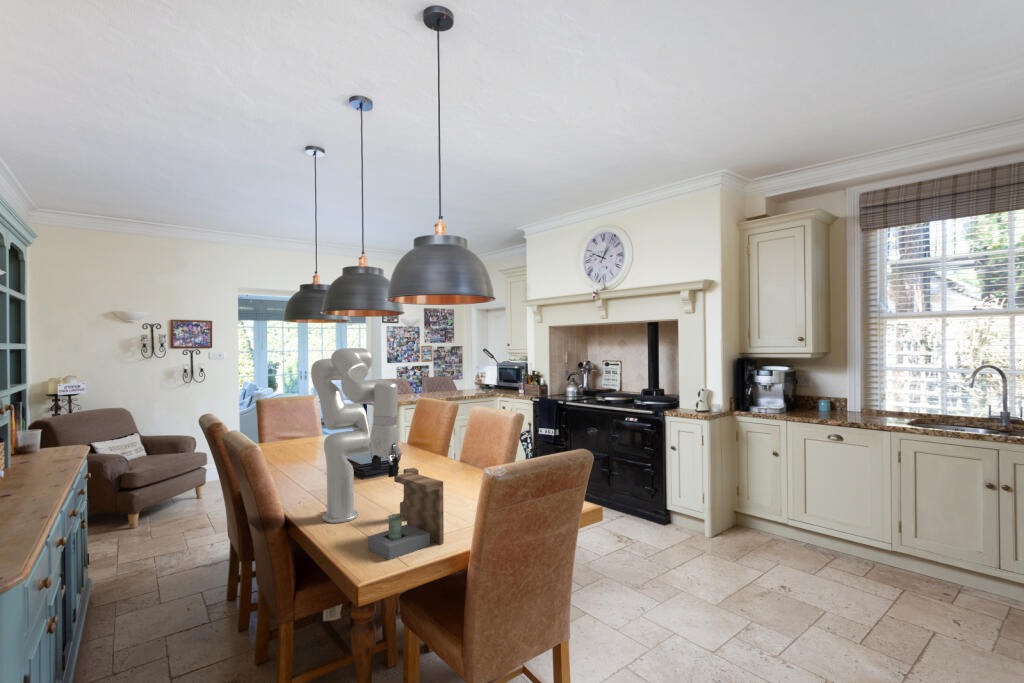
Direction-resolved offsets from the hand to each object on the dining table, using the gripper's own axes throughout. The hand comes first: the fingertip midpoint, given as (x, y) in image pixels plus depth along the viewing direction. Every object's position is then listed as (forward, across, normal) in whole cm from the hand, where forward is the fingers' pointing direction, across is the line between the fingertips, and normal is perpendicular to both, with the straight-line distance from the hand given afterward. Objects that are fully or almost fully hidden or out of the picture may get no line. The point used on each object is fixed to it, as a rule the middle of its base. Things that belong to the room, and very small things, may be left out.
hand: (384, 473), depth 165 cm
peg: (+22, +7, 0) cm, 24 cm away
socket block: (+22, +7, +1) cm, 24 cm away
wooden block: (+24, -15, +21) cm, 35 cm away
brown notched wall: (+22, +6, +9) cm, 25 cm away
